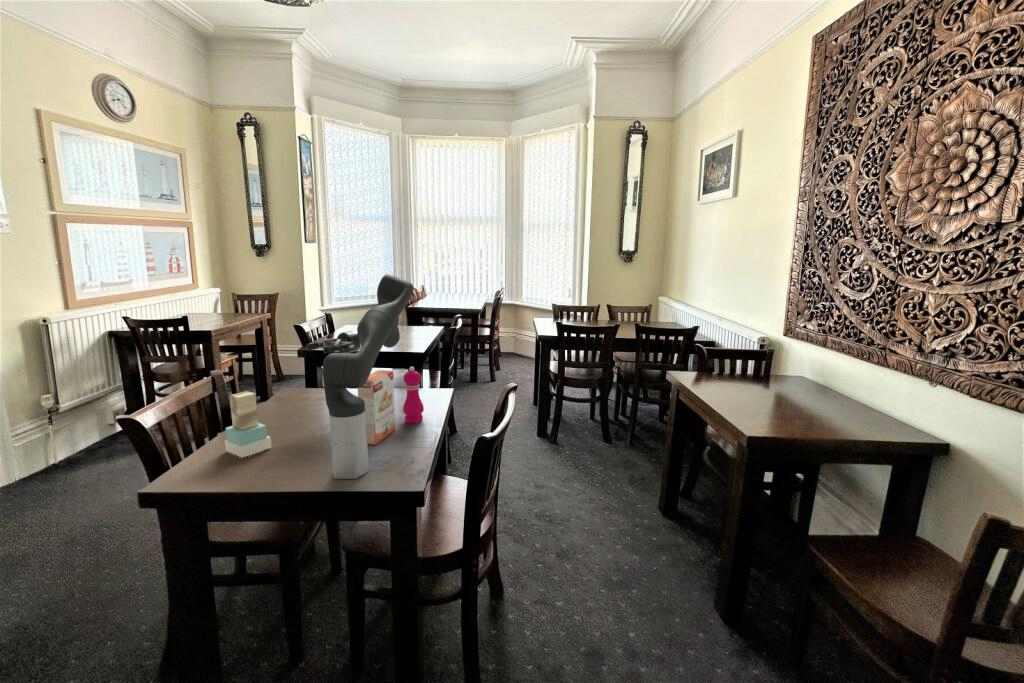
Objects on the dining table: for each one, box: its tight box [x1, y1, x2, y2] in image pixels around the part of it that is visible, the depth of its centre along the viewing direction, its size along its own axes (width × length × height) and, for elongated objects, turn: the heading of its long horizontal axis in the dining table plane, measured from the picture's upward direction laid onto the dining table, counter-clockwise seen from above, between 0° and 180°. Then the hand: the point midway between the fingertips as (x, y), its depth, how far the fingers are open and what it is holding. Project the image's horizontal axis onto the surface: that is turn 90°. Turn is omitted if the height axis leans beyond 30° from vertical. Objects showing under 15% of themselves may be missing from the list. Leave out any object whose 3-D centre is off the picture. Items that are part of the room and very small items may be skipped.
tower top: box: [225, 422, 268, 447], centre depth 142 cm, size 8×8×4 cm
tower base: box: [224, 435, 273, 459], centre depth 143 cm, size 9×9×4 cm
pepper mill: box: [402, 366, 425, 424], centre depth 166 cm, size 7×7×20 cm
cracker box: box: [357, 369, 396, 446], centre depth 152 cm, size 14×6×21 cm, turn 168°
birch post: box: [229, 390, 259, 430], centre depth 141 cm, size 5×5×10 cm
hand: (315, 348), depth 156 cm, fingers open, 8 cm apart
